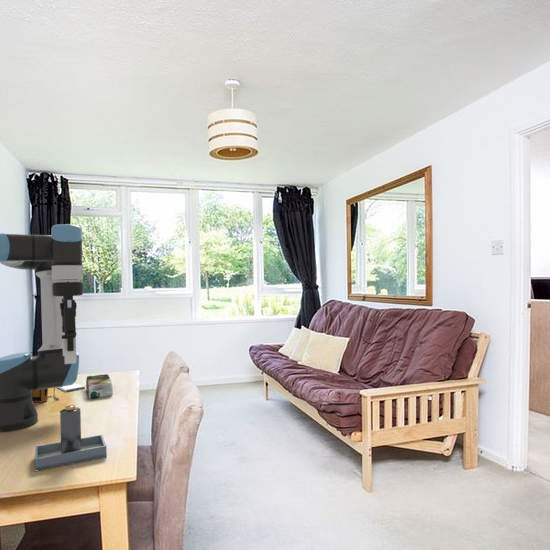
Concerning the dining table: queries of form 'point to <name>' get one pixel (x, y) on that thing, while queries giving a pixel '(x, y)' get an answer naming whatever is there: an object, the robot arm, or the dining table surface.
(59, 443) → the trough
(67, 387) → the external hard drive
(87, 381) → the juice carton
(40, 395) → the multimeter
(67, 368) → the robot arm
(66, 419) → the cell
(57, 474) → the dining table surface
